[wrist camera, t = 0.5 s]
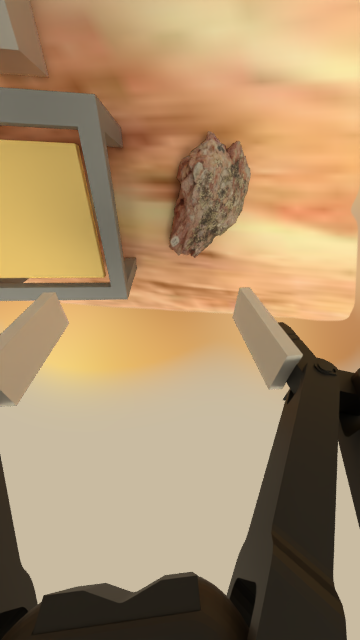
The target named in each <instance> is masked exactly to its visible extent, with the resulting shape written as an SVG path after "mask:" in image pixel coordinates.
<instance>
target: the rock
mask: <svg viewBox="0 0 360 640" xmlns="http://www.w3.org/2000/svg"><path fill="white" fill-rule="evenodd" d="M250 175H251V173H250V168H249V167H248V164H247V160H246V156H244V153H243V150H242V146H241V144H240V142H239V141H236V142H235V143H233V144H232V145H231V146H230V147H229V148H228V149H226V146H225V145H224V144H221V143H220V141H219V140H218V139H217V138H216V136H215V134H214V133H212V132H208V133H207V137H206V140H205V141H204V142H203V143H201V145H200V146H199V147H197V148H195V149H194V150H192V151H191V153H190V155H189V156H187V157H185V158H183V159H182V161H181V163H180V165H179V169H178V175H177V179H178V180H179V182H180V183H181V189H180V193H179V198H178V199H177V203H176V206H175V209H174V218H173V224H172V233H171V235H170V248H171V249H172V250H174V251H175V252H176V253H177V255H180V254H184V255H188V254H190V253H191V256H194V258H195V257H196V256H197V255H198V254H199V253H200V252H201V251H203V250H204V249H205V248H206V247H208V245H209V244H211V243H212V241H213V238H214V237H215V236H218V235H221V234H223V233H224V232H225V231H226V230H227V229H228V228H229V227H231V226H232V225H233V224H234V223H236V220H237V218H238V216H239V215H240V213H241V211H242V207H243V203H244V197H245V195H246V193H247V191H248V184H249V180H250Z"/></svg>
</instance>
